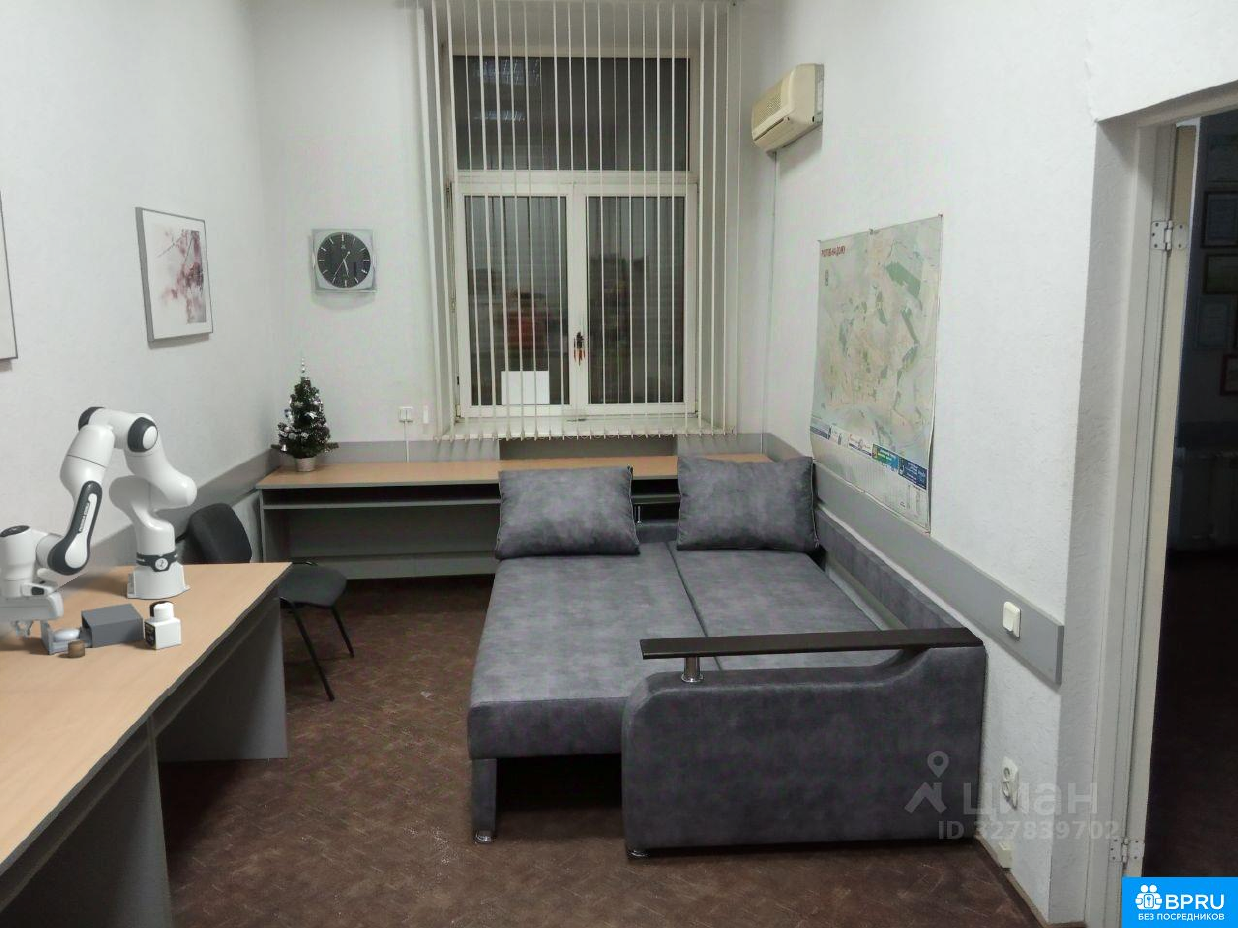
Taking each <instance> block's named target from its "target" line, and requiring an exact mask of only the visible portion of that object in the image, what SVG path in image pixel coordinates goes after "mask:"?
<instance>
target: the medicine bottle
mask: <svg viewBox="0 0 1238 928" xmlns="http://www.w3.org/2000/svg"><path fill="white" fill-rule="evenodd" d="M148 608H149V618H146V619H143V627H144V640H145V641H144V642H145V645H147V646H149V647H151V648H152V649H154V650H155V651H157V650H163V649H167V648H171V647H175V646H180V645H182V630H181V620H180V619H179V618H177V617H175V611H174V603H173V602H172V601H168V600H160V601H155V602H152V603H150V605H149V607H148Z"/></svg>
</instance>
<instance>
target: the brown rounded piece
mask: <svg viewBox="0 0 1238 928" xmlns="http://www.w3.org/2000/svg"><path fill="white" fill-rule="evenodd" d="M67 652H68V653H67V654H68V658H69V659H80V658H83V657H85V656H86V647H85V642H84V641H72V642H70V643H68V650H67Z"/></svg>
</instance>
